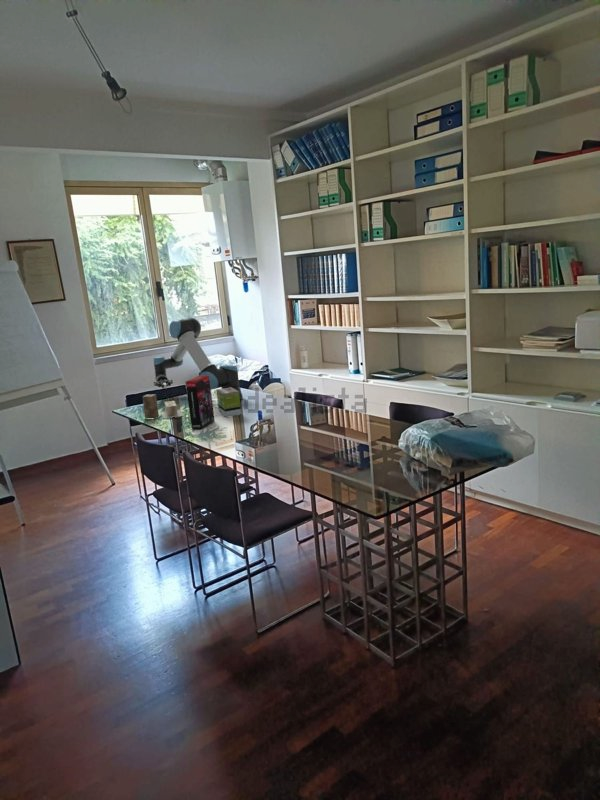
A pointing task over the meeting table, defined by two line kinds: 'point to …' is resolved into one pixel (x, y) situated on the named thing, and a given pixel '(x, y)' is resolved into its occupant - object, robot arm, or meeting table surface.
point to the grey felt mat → (172, 416)
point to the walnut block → (150, 406)
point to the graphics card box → (200, 402)
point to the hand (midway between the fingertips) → (165, 386)
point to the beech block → (171, 408)
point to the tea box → (228, 401)
